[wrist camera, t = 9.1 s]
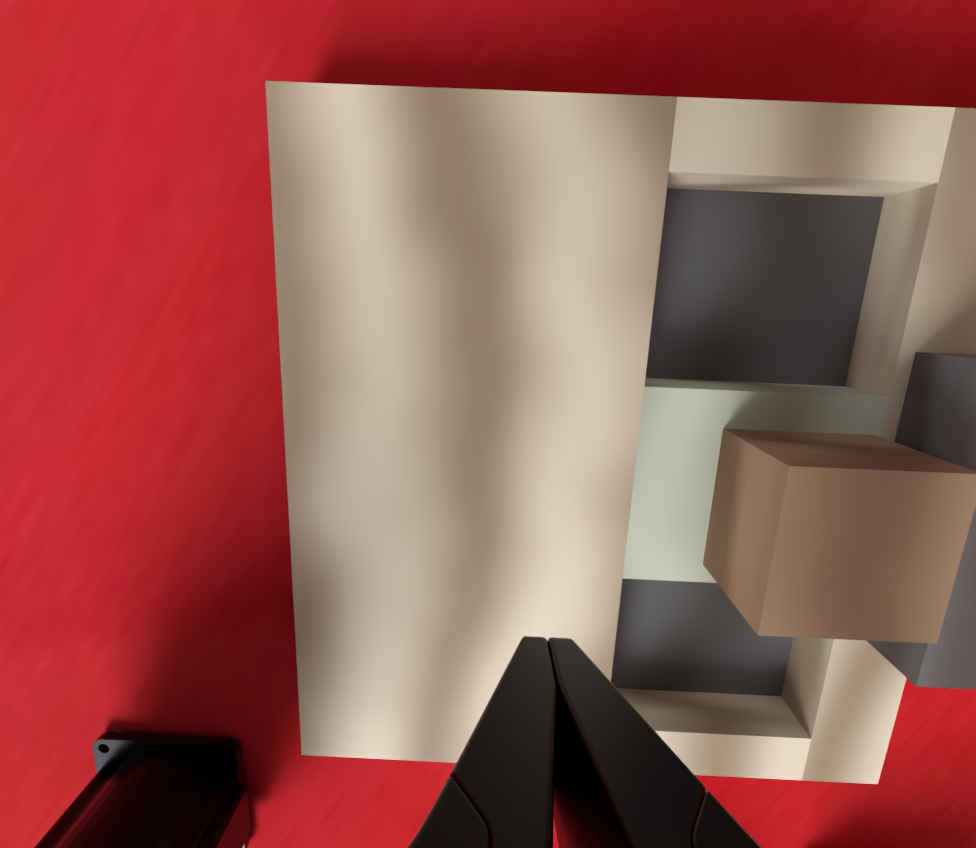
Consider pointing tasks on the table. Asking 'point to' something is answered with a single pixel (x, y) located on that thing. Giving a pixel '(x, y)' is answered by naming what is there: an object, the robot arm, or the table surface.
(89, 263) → the table surface
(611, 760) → the robot arm
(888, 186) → the board
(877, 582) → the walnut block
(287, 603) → the table surface
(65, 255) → the table surface
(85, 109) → the table surface
